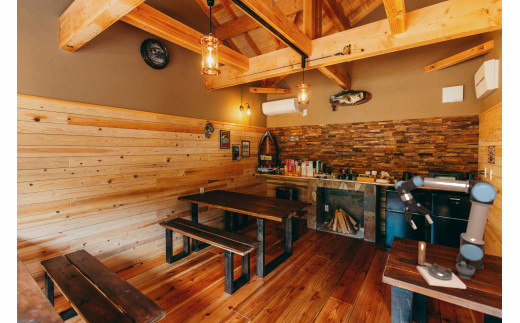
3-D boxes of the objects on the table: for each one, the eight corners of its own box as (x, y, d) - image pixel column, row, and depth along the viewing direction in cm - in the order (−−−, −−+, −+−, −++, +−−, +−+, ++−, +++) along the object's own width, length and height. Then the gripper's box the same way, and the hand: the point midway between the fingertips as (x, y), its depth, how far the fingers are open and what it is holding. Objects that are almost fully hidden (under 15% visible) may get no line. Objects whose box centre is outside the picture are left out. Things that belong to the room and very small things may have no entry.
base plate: (448, 271, 165) (448, 268, 164) (465, 288, 145) (466, 285, 145) (416, 268, 169) (416, 265, 169) (429, 284, 150) (429, 281, 150)
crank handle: (455, 276, 155) (456, 249, 154) (447, 282, 148) (448, 254, 147) (422, 263, 172) (423, 239, 170) (413, 269, 165) (414, 243, 163)
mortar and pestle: (458, 270, 165) (459, 254, 164) (476, 277, 157) (477, 260, 156) (453, 276, 159) (453, 259, 158) (470, 283, 151) (471, 265, 150)
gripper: (419, 196, 188) (434, 221, 179) (391, 205, 186) (405, 231, 177) (425, 193, 181) (441, 220, 172) (396, 203, 179) (411, 230, 170)
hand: (423, 226), depth 175 cm, fingers open, 13 cm apart
